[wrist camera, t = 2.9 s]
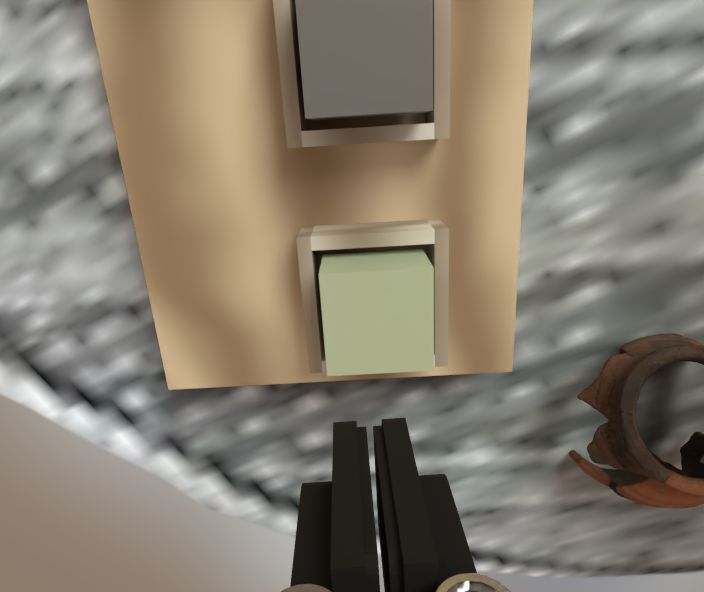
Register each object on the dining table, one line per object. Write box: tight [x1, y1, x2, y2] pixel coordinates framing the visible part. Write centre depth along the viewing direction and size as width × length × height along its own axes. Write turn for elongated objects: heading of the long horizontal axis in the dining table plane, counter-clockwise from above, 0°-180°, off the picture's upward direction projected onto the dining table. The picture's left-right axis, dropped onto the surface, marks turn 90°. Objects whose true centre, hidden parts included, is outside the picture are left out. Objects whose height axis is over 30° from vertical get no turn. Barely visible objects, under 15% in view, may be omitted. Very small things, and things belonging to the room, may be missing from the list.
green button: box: [319, 249, 434, 376], centre depth 20 cm, size 4×4×3 cm
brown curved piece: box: [569, 334, 704, 508], centre depth 27 cm, size 12×10×8 cm
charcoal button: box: [295, 0, 433, 120], centre depth 17 cm, size 4×4×3 cm
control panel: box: [87, 0, 533, 390], centre depth 20 cm, size 18×30×5 cm, turn 3°
